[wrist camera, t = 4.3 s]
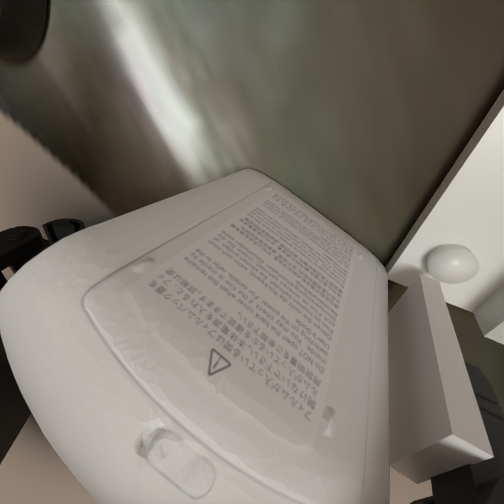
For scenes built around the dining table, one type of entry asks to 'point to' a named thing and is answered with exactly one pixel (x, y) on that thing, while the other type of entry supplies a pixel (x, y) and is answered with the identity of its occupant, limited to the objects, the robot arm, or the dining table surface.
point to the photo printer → (209, 352)
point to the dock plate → (464, 231)
